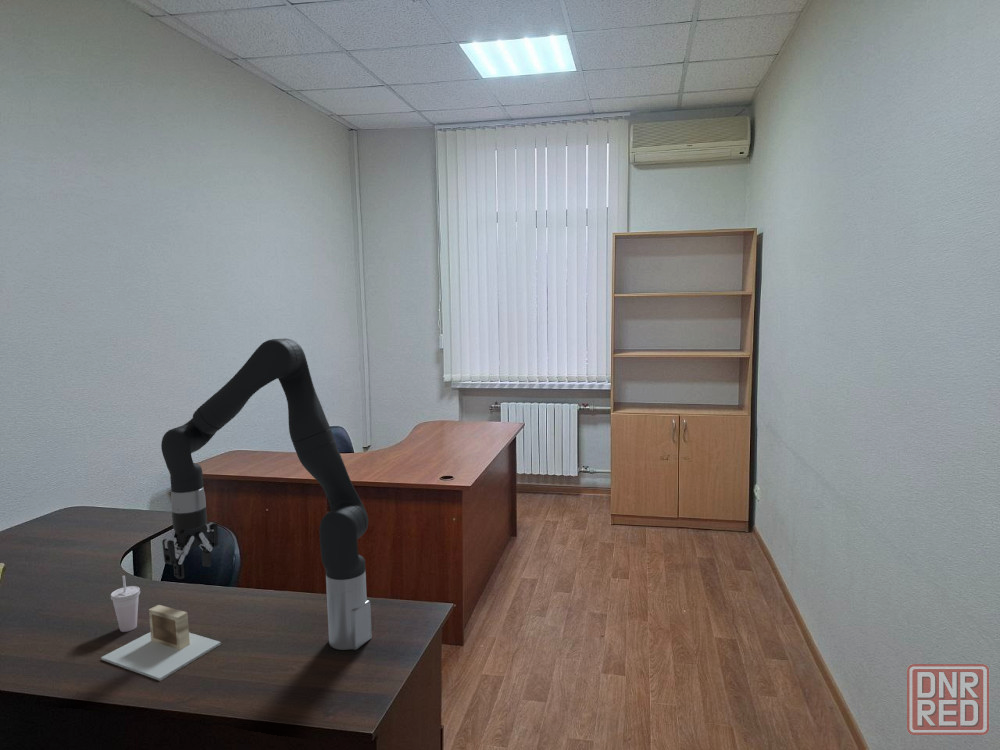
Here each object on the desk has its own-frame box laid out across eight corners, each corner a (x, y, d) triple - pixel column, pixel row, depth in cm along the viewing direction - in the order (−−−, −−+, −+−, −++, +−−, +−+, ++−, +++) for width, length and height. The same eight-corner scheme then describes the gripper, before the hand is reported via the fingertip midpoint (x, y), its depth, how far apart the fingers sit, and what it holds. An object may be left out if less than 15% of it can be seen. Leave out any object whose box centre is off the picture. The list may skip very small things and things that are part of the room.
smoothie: (112, 637, 154) (107, 582, 153) (114, 625, 160) (110, 572, 158) (142, 630, 157) (138, 577, 156) (143, 619, 163) (139, 567, 161)
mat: (220, 644, 150) (220, 641, 150) (160, 680, 136) (159, 678, 136) (164, 627, 159) (164, 624, 159) (101, 659, 145) (101, 657, 144)
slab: (189, 644, 150) (187, 612, 149) (180, 650, 147) (177, 617, 146) (160, 635, 154) (158, 604, 153) (151, 641, 151) (148, 609, 150)
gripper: (173, 518, 144) (178, 586, 146) (224, 500, 157) (228, 563, 159) (151, 514, 148) (156, 581, 150) (202, 496, 161) (207, 558, 162)
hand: (193, 571), depth 154 cm, fingers open, 7 cm apart
